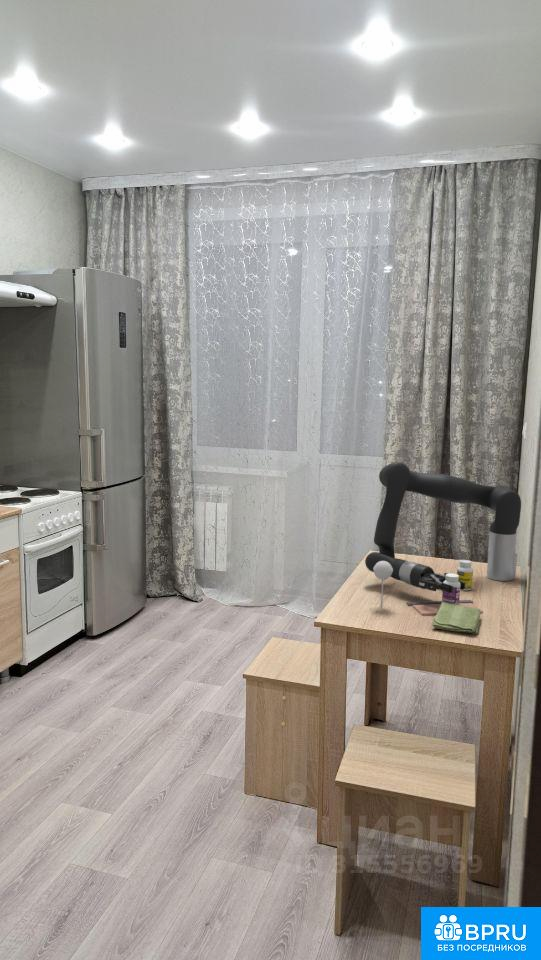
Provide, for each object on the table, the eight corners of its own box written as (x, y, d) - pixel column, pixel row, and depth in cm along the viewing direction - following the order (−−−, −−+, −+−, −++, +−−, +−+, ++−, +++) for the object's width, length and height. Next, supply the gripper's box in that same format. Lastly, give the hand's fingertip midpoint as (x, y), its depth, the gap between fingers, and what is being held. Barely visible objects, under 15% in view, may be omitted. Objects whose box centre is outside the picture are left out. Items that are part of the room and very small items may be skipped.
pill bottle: (459, 608, 213) (461, 578, 212) (442, 606, 214) (444, 576, 213) (458, 602, 218) (460, 573, 217) (441, 601, 220) (443, 572, 218)
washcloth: (430, 629, 199) (431, 619, 198) (439, 609, 215) (440, 599, 214) (477, 637, 194) (478, 626, 193) (482, 616, 210) (483, 606, 209)
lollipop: (392, 605, 220) (394, 559, 218) (389, 611, 214) (391, 564, 212) (373, 602, 222) (375, 557, 220) (370, 608, 216) (371, 562, 214)
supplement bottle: (454, 589, 238) (456, 562, 236) (456, 585, 243) (458, 558, 241) (471, 591, 236) (472, 563, 234) (472, 587, 241) (474, 560, 239)
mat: (470, 601, 225) (470, 599, 225) (485, 613, 214) (486, 611, 214) (406, 603, 222) (406, 602, 221) (418, 615, 211) (418, 613, 211)
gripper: (402, 567, 222) (444, 580, 208) (431, 560, 230) (473, 572, 217) (401, 589, 223) (443, 603, 210) (429, 581, 232) (471, 595, 218)
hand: (458, 587), depth 213 cm, fingers open, 5 cm apart
